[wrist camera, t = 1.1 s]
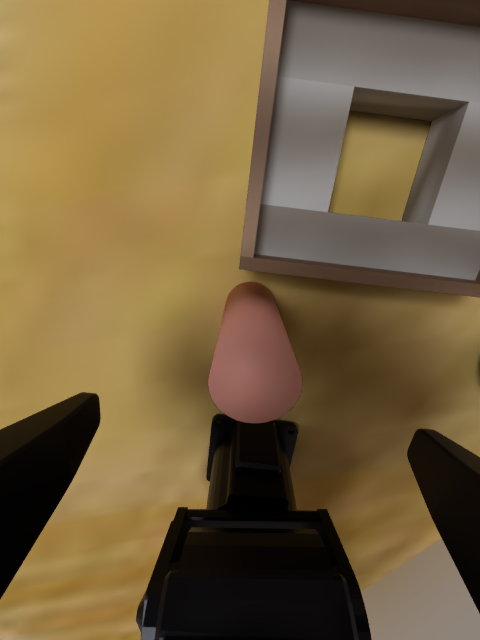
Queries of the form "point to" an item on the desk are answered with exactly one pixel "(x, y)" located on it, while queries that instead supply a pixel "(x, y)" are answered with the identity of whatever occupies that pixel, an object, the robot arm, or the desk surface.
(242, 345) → the peg
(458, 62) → the square frame
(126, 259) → the desk surface
